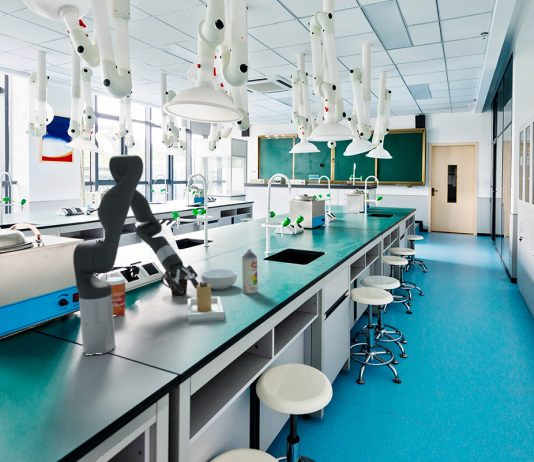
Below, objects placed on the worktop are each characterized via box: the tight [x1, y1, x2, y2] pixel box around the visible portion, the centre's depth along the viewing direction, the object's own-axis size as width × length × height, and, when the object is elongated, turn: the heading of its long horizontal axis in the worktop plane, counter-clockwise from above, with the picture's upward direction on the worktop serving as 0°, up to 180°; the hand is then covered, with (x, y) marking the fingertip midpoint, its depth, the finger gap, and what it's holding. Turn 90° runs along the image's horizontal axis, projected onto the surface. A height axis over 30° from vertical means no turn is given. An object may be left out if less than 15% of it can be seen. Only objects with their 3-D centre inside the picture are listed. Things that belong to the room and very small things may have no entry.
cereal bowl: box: [201, 268, 238, 291], centre depth 191 cm, size 17×17×7 cm
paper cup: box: [105, 276, 127, 316], centre depth 154 cm, size 8×8×14 cm
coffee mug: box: [160, 274, 189, 298], centre depth 180 cm, size 12×9×10 cm
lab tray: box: [187, 296, 225, 323], centre depth 156 cm, size 20×13×3 cm, turn 11°
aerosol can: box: [241, 248, 259, 296], centre depth 181 cm, size 7×7×20 cm
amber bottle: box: [196, 281, 212, 312], centre depth 155 cm, size 6×6×11 cm
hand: (190, 290), depth 159 cm, fingers open, 8 cm apart
